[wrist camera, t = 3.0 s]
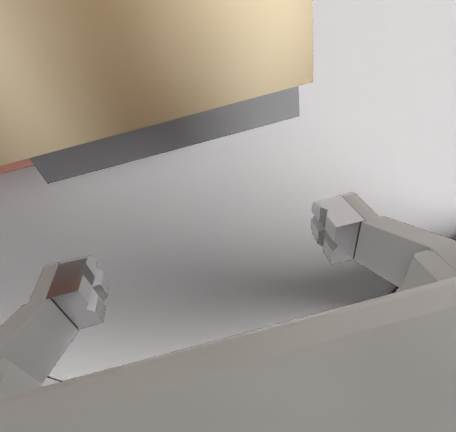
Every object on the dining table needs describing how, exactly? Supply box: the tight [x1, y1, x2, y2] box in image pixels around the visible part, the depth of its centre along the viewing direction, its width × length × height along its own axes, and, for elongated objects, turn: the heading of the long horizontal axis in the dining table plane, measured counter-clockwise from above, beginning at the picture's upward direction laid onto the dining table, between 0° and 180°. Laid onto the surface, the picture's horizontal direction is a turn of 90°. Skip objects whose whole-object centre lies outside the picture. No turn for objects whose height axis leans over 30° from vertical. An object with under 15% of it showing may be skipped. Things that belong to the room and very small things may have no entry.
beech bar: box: [0, 0, 313, 166], centre depth 8 cm, size 10×4×4 cm, turn 101°
